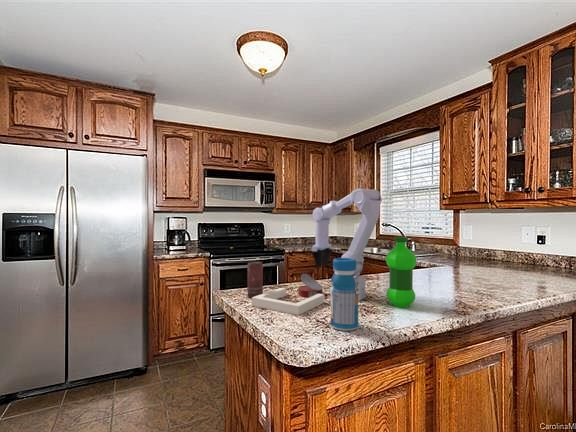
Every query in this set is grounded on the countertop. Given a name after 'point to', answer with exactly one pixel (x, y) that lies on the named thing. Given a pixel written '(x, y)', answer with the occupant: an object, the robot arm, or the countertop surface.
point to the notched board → (298, 308)
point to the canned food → (309, 287)
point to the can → (255, 278)
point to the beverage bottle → (344, 295)
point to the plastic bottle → (401, 274)
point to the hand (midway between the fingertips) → (322, 266)
